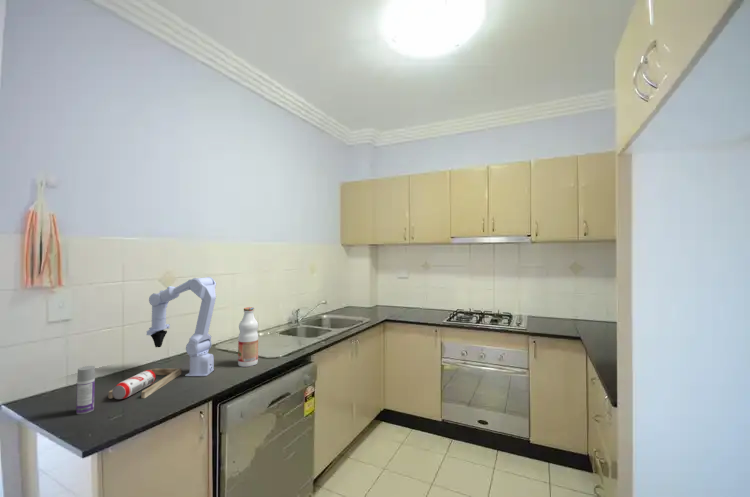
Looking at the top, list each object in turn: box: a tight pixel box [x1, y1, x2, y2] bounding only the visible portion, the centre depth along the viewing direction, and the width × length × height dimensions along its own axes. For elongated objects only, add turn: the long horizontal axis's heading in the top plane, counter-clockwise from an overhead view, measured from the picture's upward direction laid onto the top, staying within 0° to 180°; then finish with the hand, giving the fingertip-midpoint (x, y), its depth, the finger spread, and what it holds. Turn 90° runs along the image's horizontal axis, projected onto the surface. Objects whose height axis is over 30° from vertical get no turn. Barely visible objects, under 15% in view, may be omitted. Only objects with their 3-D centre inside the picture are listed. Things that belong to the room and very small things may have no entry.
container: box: [75, 365, 96, 415], centre depth 115 cm, size 5×5×15 cm
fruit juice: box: [237, 306, 259, 368], centre depth 165 cm, size 9×9×28 cm
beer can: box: [111, 369, 157, 400], centre depth 131 cm, size 6×6×16 cm
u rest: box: [108, 368, 182, 399], centre depth 137 cm, size 13×25×2 cm, turn 2°
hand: (158, 346), depth 157 cm, fingers closed
